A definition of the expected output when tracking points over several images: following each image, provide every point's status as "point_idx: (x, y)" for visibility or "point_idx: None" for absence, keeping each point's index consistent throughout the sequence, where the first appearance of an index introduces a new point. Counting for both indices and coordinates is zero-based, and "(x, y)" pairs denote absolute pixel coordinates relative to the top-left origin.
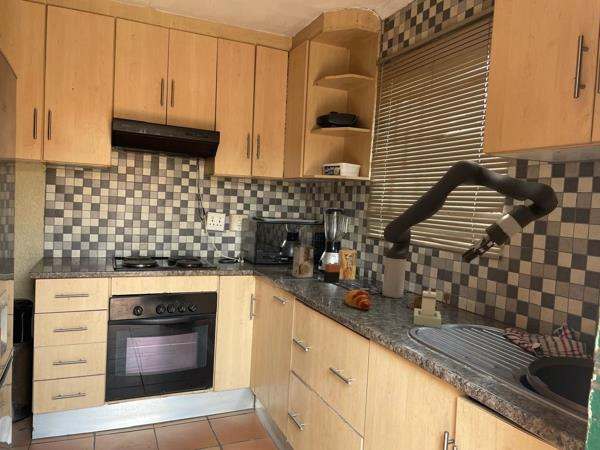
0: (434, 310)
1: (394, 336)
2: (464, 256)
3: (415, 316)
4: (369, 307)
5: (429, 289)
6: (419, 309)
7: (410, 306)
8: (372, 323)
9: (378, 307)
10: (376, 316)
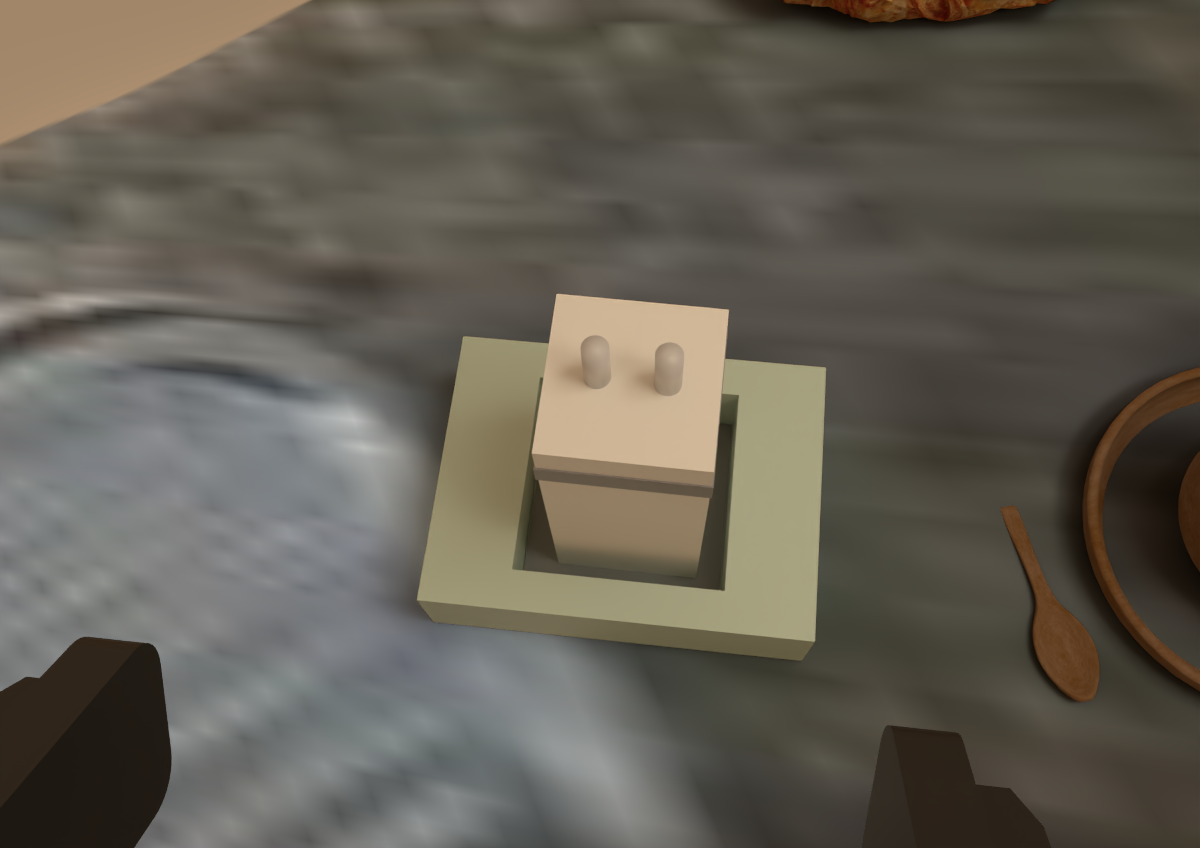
0: (548, 520)
1: (33, 199)
2: (884, 821)
3: (462, 348)
4: (850, 14)
5: (582, 346)
6: (792, 414)
7: (1157, 384)
8: (366, 57)
9: (1002, 102)
10: (620, 85)
